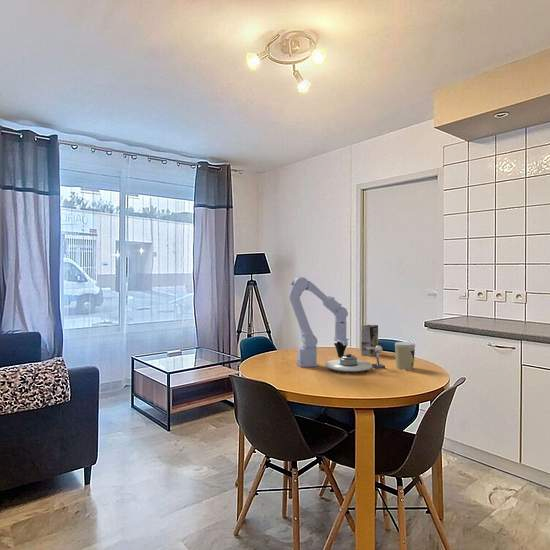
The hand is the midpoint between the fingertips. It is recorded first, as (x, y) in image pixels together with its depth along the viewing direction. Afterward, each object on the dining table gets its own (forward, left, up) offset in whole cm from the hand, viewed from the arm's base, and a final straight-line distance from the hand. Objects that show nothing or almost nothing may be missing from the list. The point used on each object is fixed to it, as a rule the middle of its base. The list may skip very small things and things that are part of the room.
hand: (340, 357), depth 213 cm
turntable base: (0, -11, -3) cm, 11 cm away
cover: (0, -12, -1) cm, 12 cm away
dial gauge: (+13, -11, -3) cm, 17 cm away
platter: (0, -11, -2) cm, 11 cm away
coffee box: (+24, +19, -3) cm, 31 cm away
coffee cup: (+27, -15, -3) cm, 31 cm away
